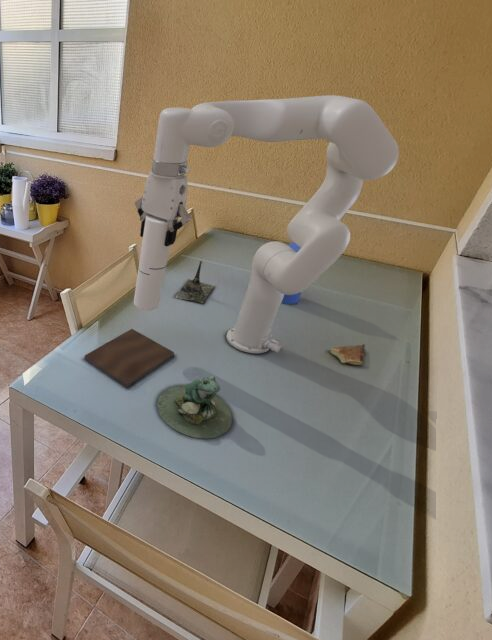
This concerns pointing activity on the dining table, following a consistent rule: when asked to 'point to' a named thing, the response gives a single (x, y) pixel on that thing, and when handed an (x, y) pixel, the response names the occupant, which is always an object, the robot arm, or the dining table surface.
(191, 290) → the eiffel tower figurine
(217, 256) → the dining table surface
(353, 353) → the shard
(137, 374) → the board
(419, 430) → the dining table surface
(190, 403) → the frog figurine
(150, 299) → the cylindrical container
